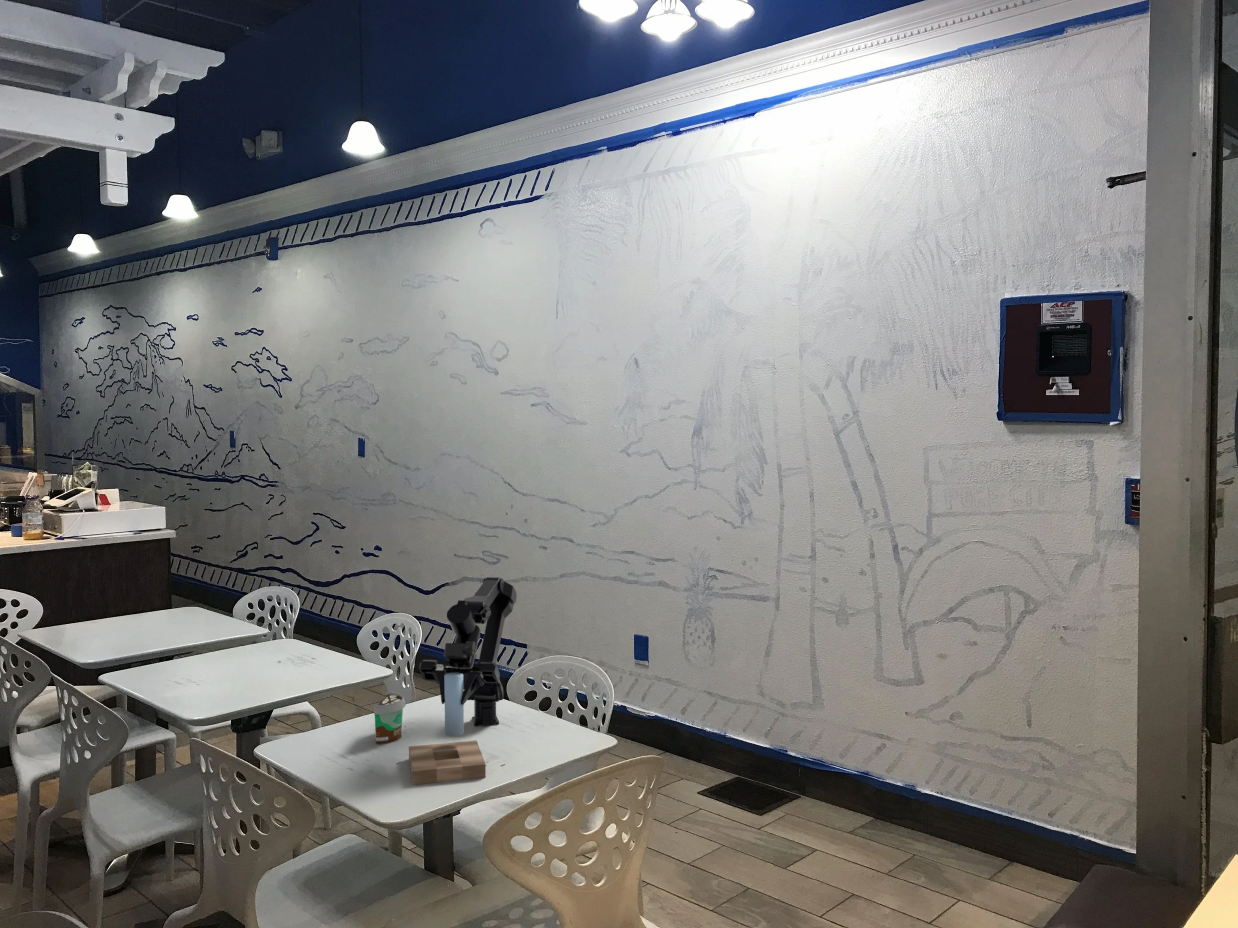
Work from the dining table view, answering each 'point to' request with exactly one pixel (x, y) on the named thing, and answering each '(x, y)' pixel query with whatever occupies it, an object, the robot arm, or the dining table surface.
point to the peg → (454, 704)
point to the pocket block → (446, 762)
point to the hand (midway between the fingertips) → (452, 703)
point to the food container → (389, 718)
